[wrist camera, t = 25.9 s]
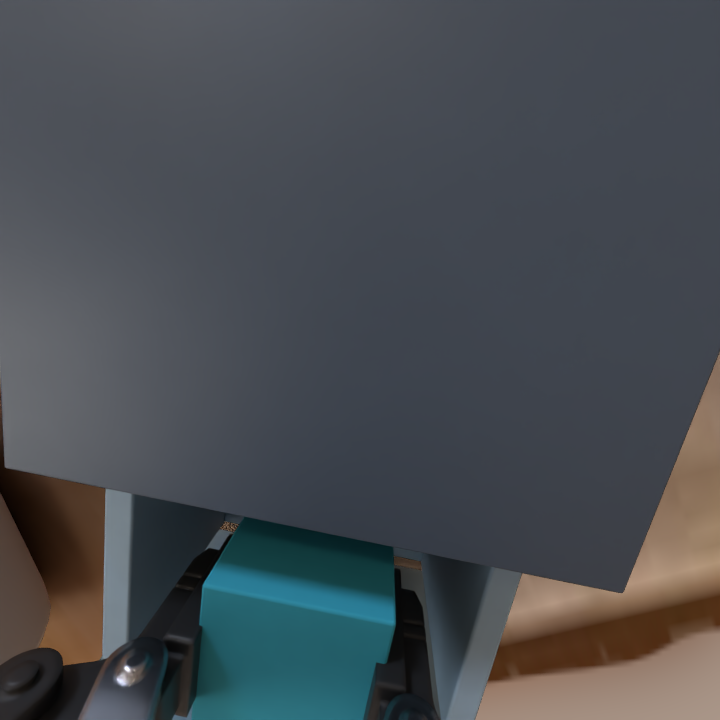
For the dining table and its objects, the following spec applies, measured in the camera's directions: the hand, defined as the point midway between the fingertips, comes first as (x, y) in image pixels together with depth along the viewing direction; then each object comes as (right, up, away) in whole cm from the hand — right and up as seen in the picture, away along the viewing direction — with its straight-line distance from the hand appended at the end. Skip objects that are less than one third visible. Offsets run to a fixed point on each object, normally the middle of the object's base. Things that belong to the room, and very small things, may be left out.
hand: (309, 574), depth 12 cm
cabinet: (+2, +13, +4) cm, 14 cm away
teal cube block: (0, 0, +1) cm, 1 cm away
